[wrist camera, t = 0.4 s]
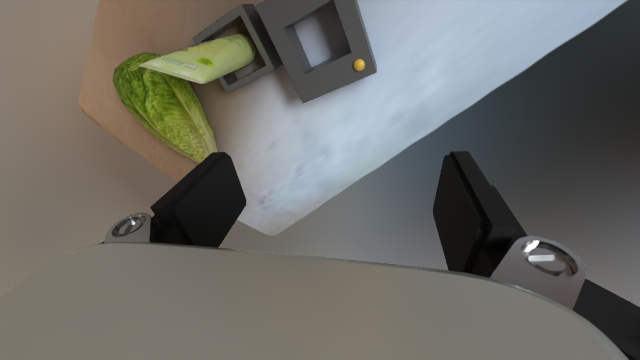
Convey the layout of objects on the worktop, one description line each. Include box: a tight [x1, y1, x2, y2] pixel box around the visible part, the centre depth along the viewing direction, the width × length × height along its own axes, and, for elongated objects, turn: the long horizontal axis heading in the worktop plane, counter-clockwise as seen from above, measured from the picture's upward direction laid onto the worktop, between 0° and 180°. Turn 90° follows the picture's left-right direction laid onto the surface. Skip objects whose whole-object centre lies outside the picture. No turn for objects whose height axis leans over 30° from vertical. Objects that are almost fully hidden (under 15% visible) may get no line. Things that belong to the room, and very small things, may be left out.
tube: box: [139, 34, 256, 84], centre depth 35 cm, size 6×5×20 cm
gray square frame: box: [193, 4, 282, 93], centre depth 41 cm, size 10×11×4 cm
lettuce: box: [113, 53, 217, 164], centre depth 49 cm, size 12×24×13 cm
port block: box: [255, 0, 377, 103], centre depth 37 cm, size 15×13×5 cm
